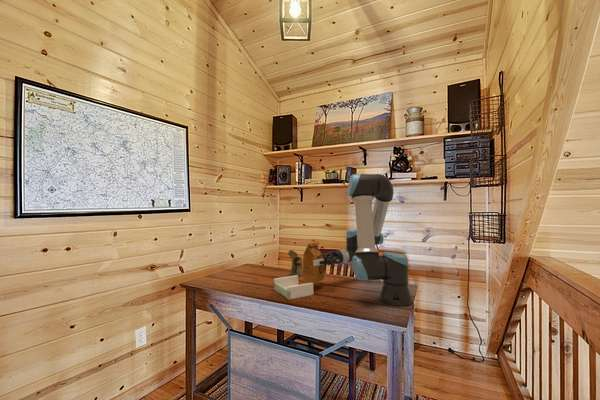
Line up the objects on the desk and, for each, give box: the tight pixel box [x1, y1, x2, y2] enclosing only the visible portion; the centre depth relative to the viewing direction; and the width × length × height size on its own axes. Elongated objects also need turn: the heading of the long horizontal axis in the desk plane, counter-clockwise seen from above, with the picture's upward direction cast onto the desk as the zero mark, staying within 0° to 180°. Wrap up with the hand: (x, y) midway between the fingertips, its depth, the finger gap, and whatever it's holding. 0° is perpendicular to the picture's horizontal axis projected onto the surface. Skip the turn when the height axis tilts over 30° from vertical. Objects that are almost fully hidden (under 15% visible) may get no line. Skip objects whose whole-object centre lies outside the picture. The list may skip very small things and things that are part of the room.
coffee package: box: [302, 241, 325, 284], centre depth 158 cm, size 10×12×22 cm
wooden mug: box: [287, 249, 303, 278], centre depth 184 cm, size 9×14×18 cm, turn 155°
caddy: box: [273, 275, 314, 301], centre depth 151 cm, size 18×15×6 cm
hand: (308, 260), depth 156 cm, fingers closed on coffee package, 11 cm apart
